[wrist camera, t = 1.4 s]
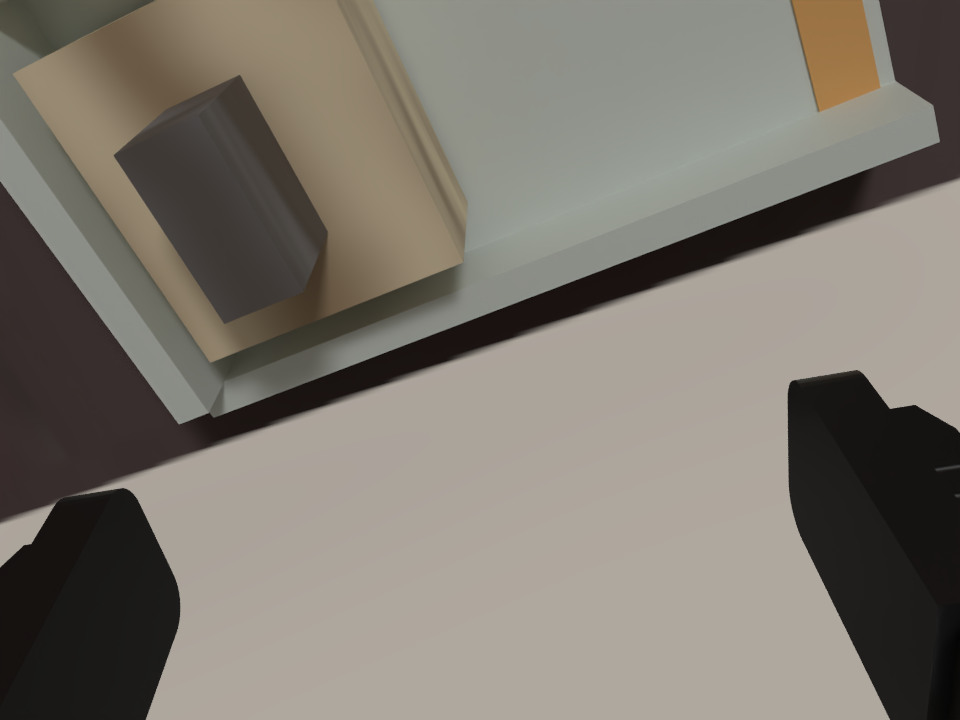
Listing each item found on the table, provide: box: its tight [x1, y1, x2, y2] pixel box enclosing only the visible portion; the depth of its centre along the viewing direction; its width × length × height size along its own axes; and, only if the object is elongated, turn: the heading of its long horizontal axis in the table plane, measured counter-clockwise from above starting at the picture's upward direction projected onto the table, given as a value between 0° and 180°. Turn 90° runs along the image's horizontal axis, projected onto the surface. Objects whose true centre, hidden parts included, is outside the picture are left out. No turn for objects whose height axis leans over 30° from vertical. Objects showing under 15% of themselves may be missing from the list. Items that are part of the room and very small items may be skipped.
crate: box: [13, 0, 468, 363], centre depth 26 cm, size 9×10×9 cm
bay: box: [0, 0, 940, 424], centre depth 27 cm, size 26×16×6 cm, turn 114°
